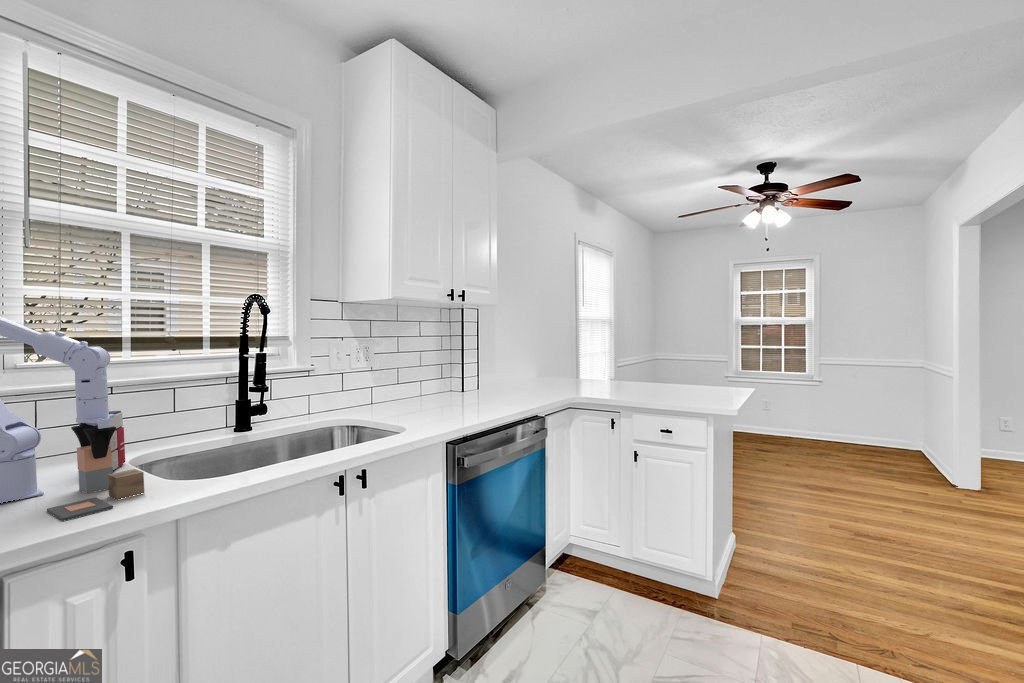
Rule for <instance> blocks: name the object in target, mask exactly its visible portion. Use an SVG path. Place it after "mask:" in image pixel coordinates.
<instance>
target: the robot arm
mask: <svg viewBox="0 0 1024 683" xmlns="http://www.w3.org/2000/svg"><path fill="white" fill-rule="evenodd" d="M0 336H1V337H3V338H7V339H10V340H13V341H15V342H19V343H23V344H26V345H29V346H31V347H32V348H33V350H34V352H35V354H37V355H39V356H42V357H44V358H48V359H51V360H53V361H56V362H58V363H61V364H63V365H67V366H69V367H70V369H72V371H74V387H75V389H74V390H75V405H76V406H75V408H76V418H75V423H77V424H79V425H74V426H70V428H71V430H72V432H73V433H74V434H75V436H76V438H77V440H78V442H79V445H80V447H85V446H91V450H92V454H93V457H94V459H99V458H104V457H106V456H107V452H108V448H109V443H110V440H111V437H112V435H113V433H114V432H115V430H116V427H115V426H112V427H110V418H114V417H115V415H114V414H109V393H108V392H109V391H108V389H109V388H108V377H107V367H108V366H109V364H110V363H111V355H110V353H109V351H108V350H107V349H104V348H102V346H99V345H91V346H89V345H88V344H89V343H88V342H87V341H85V340H84V341H83V340H82V341H78V340H76V339H73V338H71V337H68V336H66V333H65V332H63V331H59V330H58V331H47V332H43V333H42V332H39V331H37V330H34V329H32V328H30V327H27V326H25V325H24V324H23V325H22V324H20V323H17V322H15V321H13V320H10V319H8V318H5V317H3V316H0ZM41 440H42V434H41V432H40V431H39V429H38V428H37V427H35V426H33V425H31V424H29V423H28V422H27V421H26V420H25V419H24V418H23V417H21V416H19V415H17V414H15V413H13V412H11V410H10V409H9V408H8V407H7V405H6V404H5V403H4V402H3V400H2V399H1V398H0V503H1V504H4V503H3V502H6V503H9V502H8V501H11V502H14V501H13V500H15V501H20V500H24V499H28V498H34V497H37V496H42V495H44V494H45V493H44V491H42V490H40V489H39V488H38V480H37V479H38V476H37V459H36V458H37V456H36V450H35V449H36V447H38V446H39V445H40V443H41ZM19 499H20V500H19Z"/></svg>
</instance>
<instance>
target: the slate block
mask: <svg viewBox="0 0 1024 683" xmlns="http://www.w3.org/2000/svg"><path fill="white" fill-rule="evenodd" d="M77 470H78V472H77V473H78V490H79V491H80V490H81V491H80V492H82V491H83V493H84V492H85V493H84V494H86V493H88V494H91V493H90V492H92V493H96V492H95V491H97V492H100V491H99V490H101V491H105V490H109V489H108V488H109V486H108V474H113V473H114V471H113V467H109V468H104V469H99V470H94V471H89V472H83V471H81V470H79V469H78V468H77ZM104 489H105V490H104Z"/></svg>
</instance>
